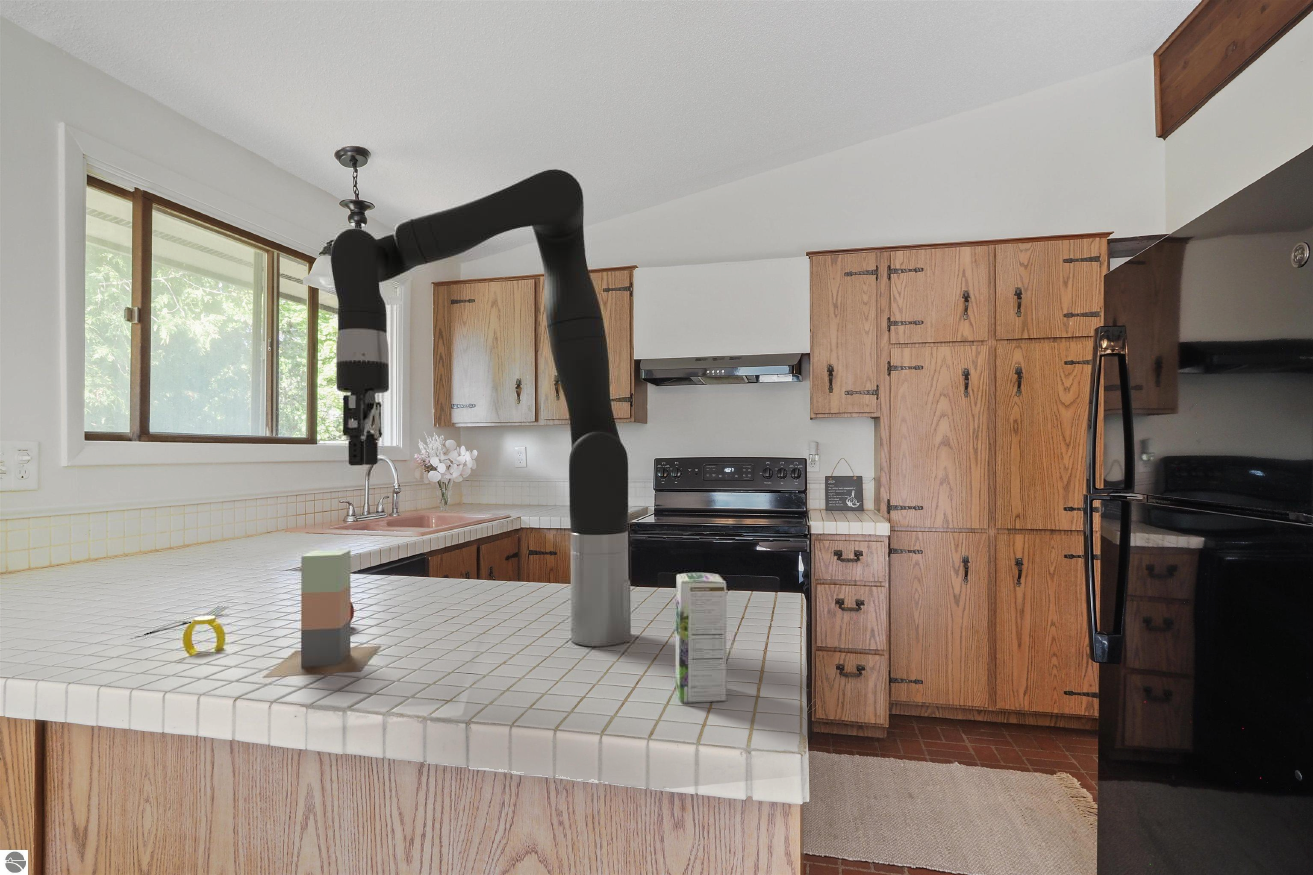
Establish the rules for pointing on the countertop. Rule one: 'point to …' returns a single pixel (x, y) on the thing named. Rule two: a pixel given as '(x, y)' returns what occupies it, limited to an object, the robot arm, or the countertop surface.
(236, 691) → the countertop surface
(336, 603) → the terracotta brick
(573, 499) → the robot arm
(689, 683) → the syrup box
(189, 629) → the watch
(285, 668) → the walnut board
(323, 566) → the sage brick
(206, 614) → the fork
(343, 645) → the charcoal brick
